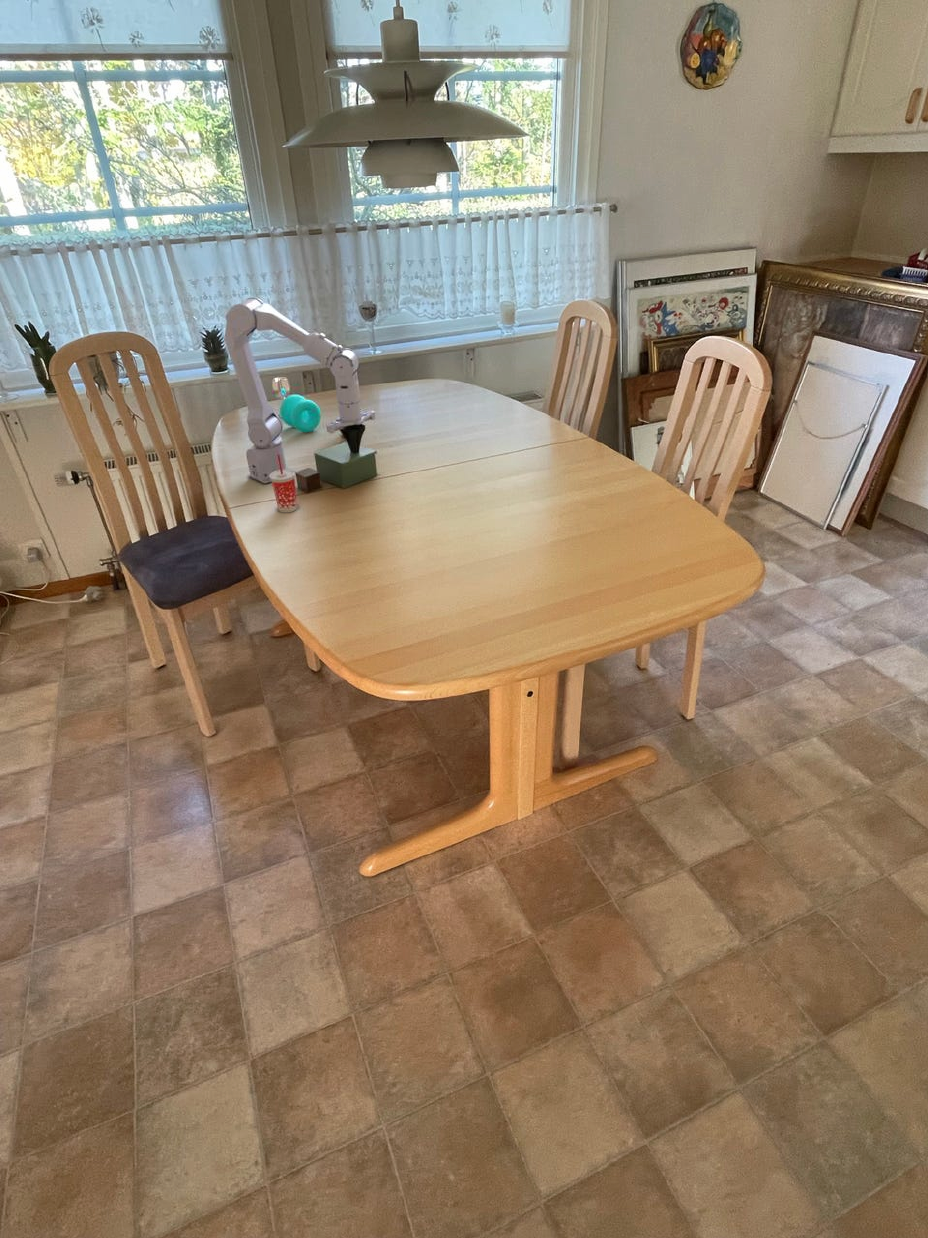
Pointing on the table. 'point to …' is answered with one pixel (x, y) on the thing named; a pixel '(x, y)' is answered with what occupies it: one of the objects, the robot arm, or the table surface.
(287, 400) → the donuts
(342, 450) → the lid
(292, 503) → the beverage cup
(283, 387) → the wineglass
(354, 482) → the chest
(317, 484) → the block
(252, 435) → the robot arm
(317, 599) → the table surface
